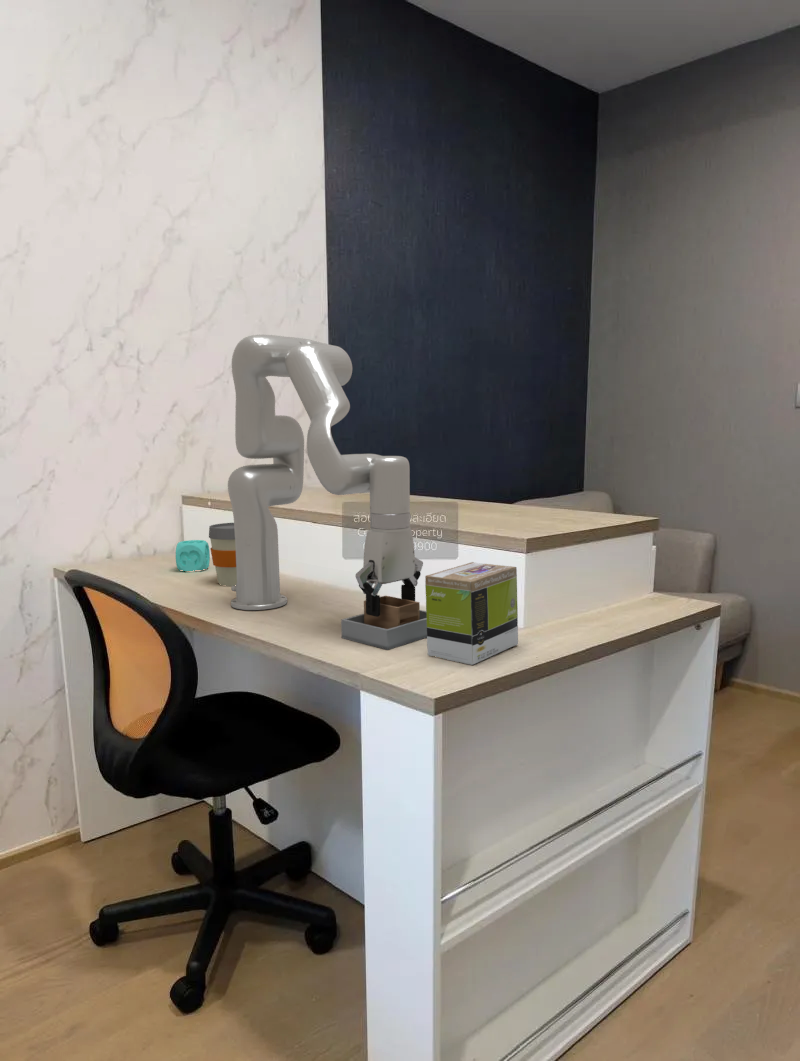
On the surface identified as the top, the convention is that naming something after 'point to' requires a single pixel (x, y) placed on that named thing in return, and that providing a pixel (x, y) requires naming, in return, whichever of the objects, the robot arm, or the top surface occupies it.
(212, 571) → the top surface
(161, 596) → the top surface
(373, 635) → the grey tray
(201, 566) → the decorative dice
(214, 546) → the reusable coffee cup
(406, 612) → the small crate
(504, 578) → the tea box
